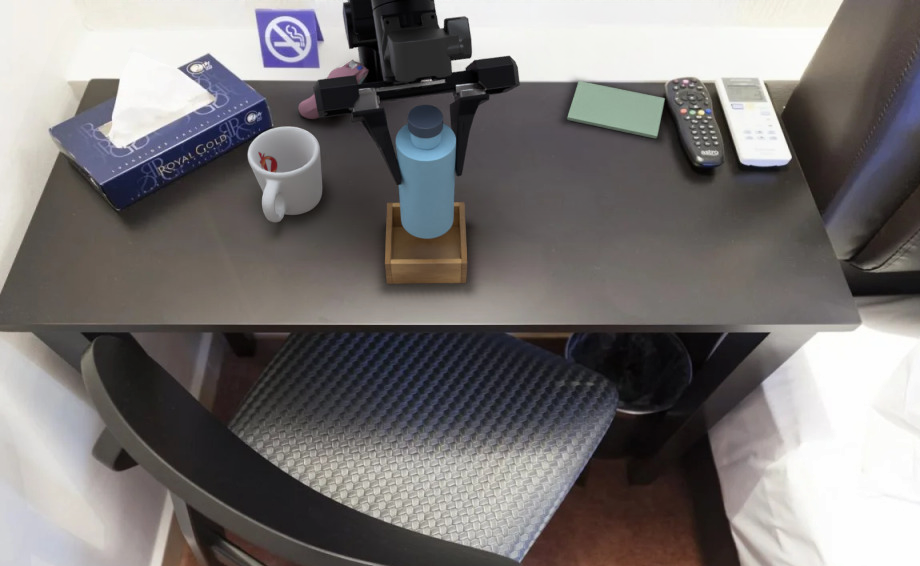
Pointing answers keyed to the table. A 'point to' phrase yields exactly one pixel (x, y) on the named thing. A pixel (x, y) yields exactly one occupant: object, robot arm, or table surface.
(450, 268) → the open wooden box
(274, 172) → the cup
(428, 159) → the bottle
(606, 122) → the mat
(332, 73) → the pink toy car
